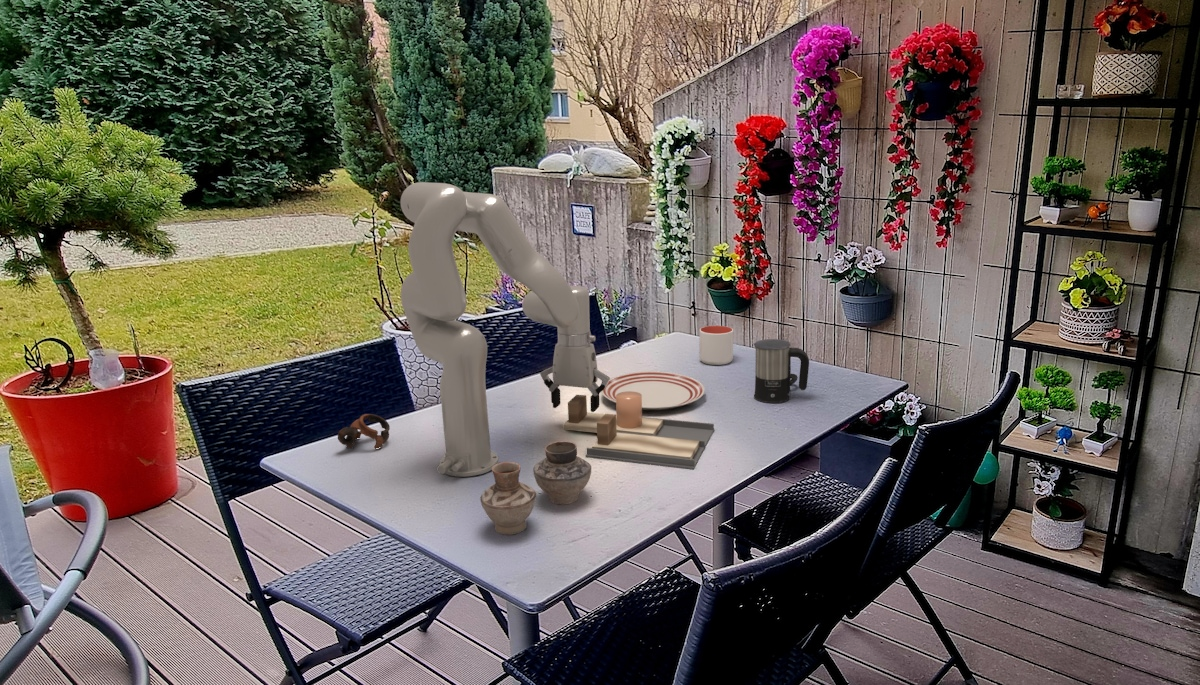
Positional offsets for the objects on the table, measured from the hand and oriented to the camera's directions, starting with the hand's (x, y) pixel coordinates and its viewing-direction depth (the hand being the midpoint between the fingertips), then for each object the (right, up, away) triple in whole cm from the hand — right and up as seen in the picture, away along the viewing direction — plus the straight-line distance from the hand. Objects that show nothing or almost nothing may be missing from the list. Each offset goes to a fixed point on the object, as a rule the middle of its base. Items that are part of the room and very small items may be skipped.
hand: (575, 408), depth 185 cm
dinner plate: (+20, +1, +20) cm, 28 cm away
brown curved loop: (-49, -9, -6) cm, 50 cm away
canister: (+13, -3, -3) cm, 14 cm away
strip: (+16, -9, -14) cm, 23 cm away
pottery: (-6, -16, -39) cm, 43 cm away
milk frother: (+53, +2, +20) cm, 56 cm away
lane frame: (+18, -7, -10) cm, 21 cm away
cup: (+41, +10, +49) cm, 65 cm away
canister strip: (+9, -5, -1) cm, 11 cm away
